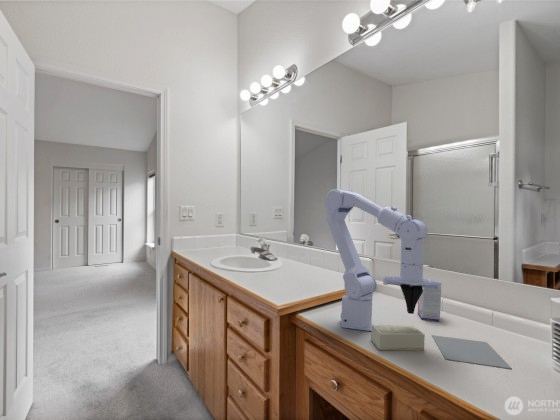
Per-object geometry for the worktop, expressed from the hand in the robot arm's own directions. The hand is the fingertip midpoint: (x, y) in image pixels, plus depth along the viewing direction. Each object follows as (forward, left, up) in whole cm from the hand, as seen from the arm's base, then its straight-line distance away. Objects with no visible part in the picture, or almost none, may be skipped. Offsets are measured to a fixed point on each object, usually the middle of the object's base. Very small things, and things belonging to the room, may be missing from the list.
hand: (410, 312), depth 80 cm
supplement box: (+10, +23, -9) cm, 26 cm away
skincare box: (+2, -1, -6) cm, 7 cm away
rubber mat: (+14, 0, -8) cm, 16 cm away
